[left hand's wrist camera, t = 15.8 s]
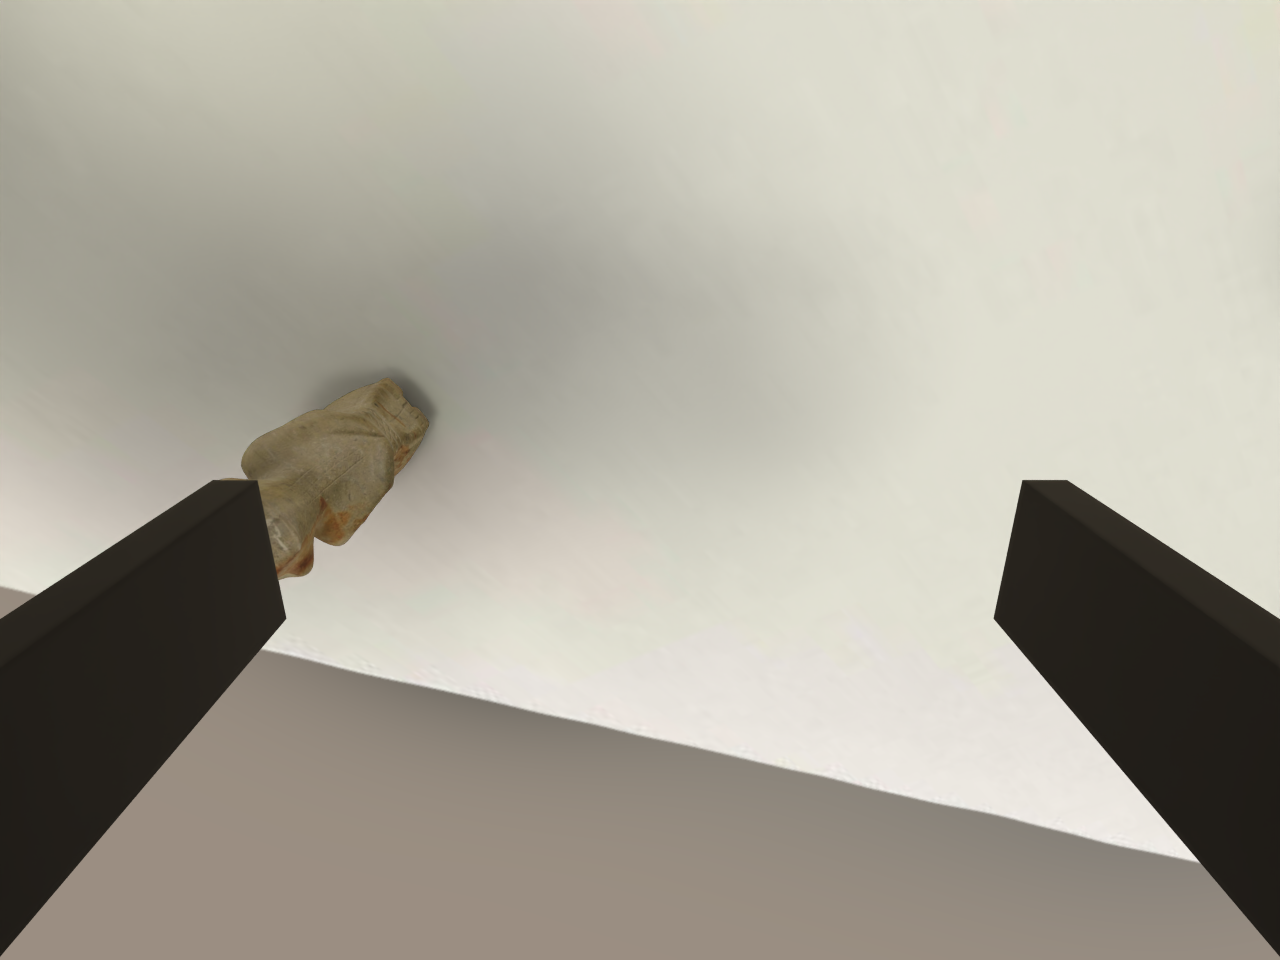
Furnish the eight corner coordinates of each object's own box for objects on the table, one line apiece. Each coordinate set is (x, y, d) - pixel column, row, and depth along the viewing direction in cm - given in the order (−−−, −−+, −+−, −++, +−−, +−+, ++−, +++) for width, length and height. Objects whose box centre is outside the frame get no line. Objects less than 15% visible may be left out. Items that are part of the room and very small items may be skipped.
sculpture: (293, 422, 40) (107, 541, 26) (390, 348, 39) (248, 433, 25) (365, 501, 42) (226, 652, 28) (459, 434, 40) (364, 557, 26)
